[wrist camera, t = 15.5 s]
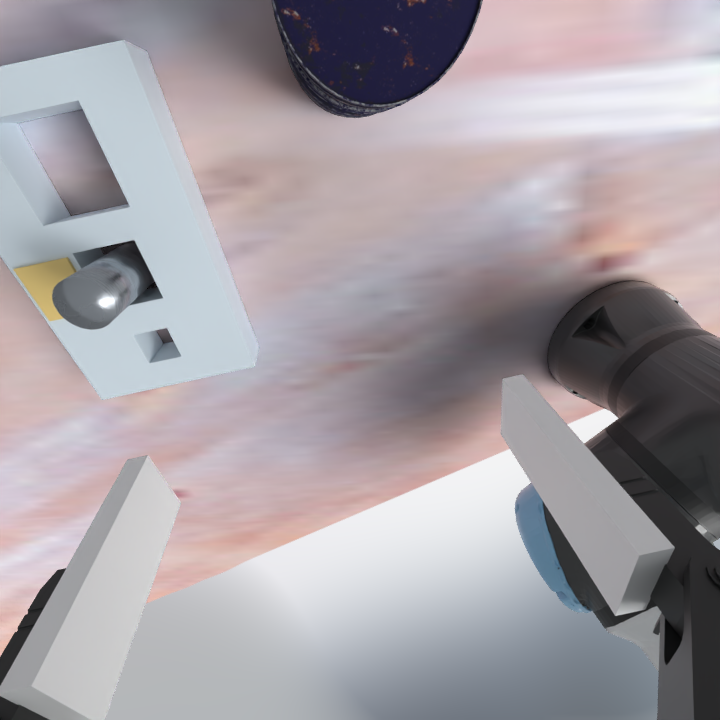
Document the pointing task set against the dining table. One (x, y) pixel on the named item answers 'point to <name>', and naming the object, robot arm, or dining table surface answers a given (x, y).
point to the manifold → (119, 224)
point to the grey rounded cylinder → (103, 288)
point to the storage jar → (372, 48)
